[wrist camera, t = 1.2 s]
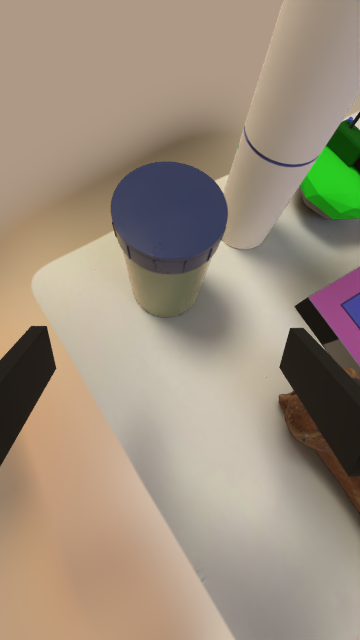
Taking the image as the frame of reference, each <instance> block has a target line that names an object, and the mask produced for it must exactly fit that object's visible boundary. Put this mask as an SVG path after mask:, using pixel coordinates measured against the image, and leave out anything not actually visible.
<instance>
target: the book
mask: <svg viewBox="0 0 360 640" xmlns="http://www.w3.org/2000/svg"><path fill="white" fill-rule="evenodd" d="M295 308H296V309H297V311H298V312H299V313H300V315H301V316H302V317H303V319H304V320H305V322H306V323H307V324H308V326H309V327H310V328H311V330H312V331H313V333H314V334H315V335H316V337H317V338H318V339H319V341H320V342H321V344H322V345H323V346H324V348H325V349H326V350H327V352H328V353H329V355H330V356H331V357H332V358H333V359H334V360H335V361H336V362H337V363H338V364H339V365H340V366H341V367H350V368H351V369H353V370H354V371H355V372H356V373H357V375H358V376H359V377H360V267H358V268H357V269H355V270H353V271H352V272H350V273H348V274H346V275H345V276H343V277H341V278H340V279H338V280H336V281H335V282H333V283H331V284H330V285H328V286H326V287H324V288H323V289H321V290H319V291H318V292H316V293H314V294H313V295H311V296H309V297H307V298H306V299H305V300H303V301H302V302H300V303H299V304H297V305H296V306H295Z"/></svg>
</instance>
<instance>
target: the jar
mask: <svg viewBox="0 0 360 640" xmlns="http://www.w3.org/2000/svg"><path fill="white" fill-rule="evenodd" d="M123 253H124V251H123ZM124 257H125V261H126V265H127V270H128V274H129V278H130V282H131V286H132V290H133V294H134V297H135V299H136V301H137V302H138V304H139V305H140V306H141V307H142V308H143V309H144V310H145V311H147V312H148V313H150V314H152V315H155V316H159V317H174V316H177V315H180V314H182V313H184V312H186V311H187V310H188V309H189V308H190V307H191V306H192V305H193V304H194V302H195V301H196V299H197V296H198V293H199V291H200V288H201V285H202V282H203V280H204V277H205V274H206V271H207V269H208V266H209V263H210V260H211V258H212V257H211V258H210V259H209V261H207V262H206V263H205V264H203V265H202V266H200V267H198V268H197V269H194V270H192V271H190V272H186V273H184V274H183V273H182V274H171V275H168V274H160V273H154V272H152V271H149V270H146V269H144V268H142V267H140V266H139V265H137V264H136V263H134V262H133V261H132V260H131V259H129V258H128V256H127V255H126V254H125V253H124Z"/></svg>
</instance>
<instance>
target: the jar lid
mask: <svg viewBox="0 0 360 640" xmlns="http://www.w3.org/2000/svg"><path fill="white" fill-rule="evenodd" d="M111 215H112V220H113V222H112V224H113V228H114V232H115V236H116V237H117V239H118V242H119V244H120V246H121V248H122V250H123V251H124V253H125V254H126V255H127V256H128V258H129V259H131V260H132V261H133V262H134V263H136V264H137V265H139V266H140V267H142V268H144V269H146V270H149V271H152V272H154V273H160V274H168V275H171V274H182V273H183V274H184V273H186V272H190V271H192V270H194V269H197V268H198V267H200V266H202V265H203V264H205V263H206V262H207V261H209V259H210V258H211V257H212V256H213V254H214V253H215V252H216V250H217V248H218V246H219V243H220V240H222V237H223V235H224V232H225V229H226V224H227V219H228V208H227V202H226V199H225V196H224V194H223V192H222V191H221V189H220V187H219V186H218V185H217V184H216V182H215V181H214V180H213V179H212V178H210V177H209V176H208V175H207V174H205V173H204V172H202V171H200V170H199V169H197V168H194V167H192V166H189V165H186V164H182V163H177V162H156V163H151V164H147V165H144V166H141V167H139V168H137V169H135V170H134V171H132V172H130V173H129V174H128V175H126V176H125V177H124V178H123V180H121V182H120V183H119V184H118V186H117V188H116V189H115V191H114V194H113V197H112V201H111Z"/></svg>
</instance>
